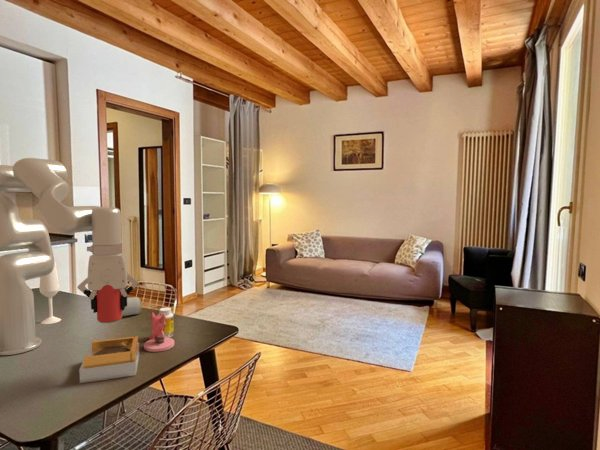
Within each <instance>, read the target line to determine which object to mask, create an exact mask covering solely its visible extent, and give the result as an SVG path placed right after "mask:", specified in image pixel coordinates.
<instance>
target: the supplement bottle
mask: <svg viewBox="0 0 600 450" xmlns="http://www.w3.org/2000/svg"><path fill="white" fill-rule="evenodd" d="M163 313H164V315H165V317H166V318H165V322H166V323H165V329H164V331H163V328H162V331H163V332H164V336H166V337H168V338H172V337H173V336H174V332H175V331H174V330H175V328H174V326H175V325H174V317H175V316H174V313H173V312H172V308H171V307H161V308H160V309H159V313H158V314H157V315H156V316H159V314H162V315H163ZM162 315H161V316H162Z"/></svg>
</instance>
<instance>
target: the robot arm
mask: <svg viewBox="0 0 600 450" xmlns="http://www.w3.org/2000/svg"><path fill="white" fill-rule="evenodd" d="M68 176H69V175H68V170H67V168H66V166H65V165H64V164H63V163H62V162H60V161H58V160H55V159H45V158H36V157H24V158H21V159H19V160H17V161H16V162H15V163H14V164H13V165H10V164H9V165H7V164H0V250H1V251H8V250H16V249H17V250H18V249H23V248H24V249H25V248H27V249H28V251H19V252H13V253H6V254H2V255H0V356H12V355H19V354H22V353H26V352H29V351H32V350H34V349H35V350H36V349H37V348H38V347H40V346H41V345H42V338H41V337H38V336H37V335H36V334H37V333H36V318H35V315H36V314H35V300H34V299H35V298H34V291H33V290H32V289H31V286H29V285H28V284H27V283H26V281H28V280H34V279H37V278H39V279H40V277H43V276H46V275H49V274H50V273H51V272H52V271H53V269H54V261H55V258H54V252H53V246H52V243H51V239H50V235H49V230H48V228H47V227H46V224H44V223H43V222H42V221H41V220H39V219H35V218H34V219H33V218H28V219H22V218H21V217H20V213H19V208H18V206H17V204H16V203H15V201H14V200H13V199H12V198H11V197H10V196H9V195H8V194H6V193H9V192H10V193H32V194H33V195H35V197H37V198H38V199H39V200H38V208H39V211H40V212H39V213H40V214H41V217H42V218H43V220H45V221H46V223H48V224H49V225H50V226H51V227H52V228H54V229H55V230H57V231H58V232H61V233H64V234H75V233H76V234H77V233H83V232H91V237H92V239H91V240H92V245H90V246H87V247H86V252H91V255H90V256H89V259H88V266H87V277H86V278H85V279H84V280H83V281H82V282H80V283H79V284H78V285H77V290H79V291H80V292H82V293H83V294H84V295H85V296H86V297H88V299H89V300H90V310H93V311H92V312H93V314H97V299H96V293H97V291H99V290H101V289H102V287H103V286H105V285H110V286H112V287H113V288H114V289H120V292H121V293H122V297H121V310H124V309H125V306H127V298H128V296H129V294H130V293H131V292H132V291H133V290H134V289H135V288H136V287H137V286H138V284H139V281H138V280H137V279H136V278H134V277H133V276H132V275H130V274H129V271H128V263H127V259H126V254H125V253H123V238H122V237H123V236H122V234H123V233H122V212H121V210H120V208H118V207H113V206H111V207H107V206H105V207H104V206H99V205H76V206H73V205H72V206H67V205H65V204H64V203H62V202H63V201H64V200H65V199H66V198H67V197H68V195H69V191H70V187H69V183H67V180H68ZM106 282H107V283H106ZM108 282H109V283H108ZM129 282H130V283H131V284H130V285H129V286H128V283H129ZM86 285H87V287H86ZM127 286H128V288H127Z"/></svg>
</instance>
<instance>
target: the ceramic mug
mask: <svg viewBox="0 0 600 450" xmlns="http://www.w3.org/2000/svg"><path fill="white" fill-rule="evenodd" d="M140 313H142V300H141V298H140V296H139V297H137V296H133V297H127V306H125V309H124V310H122V318H123V317H129V316H134V315H139V314H140Z"/></svg>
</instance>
